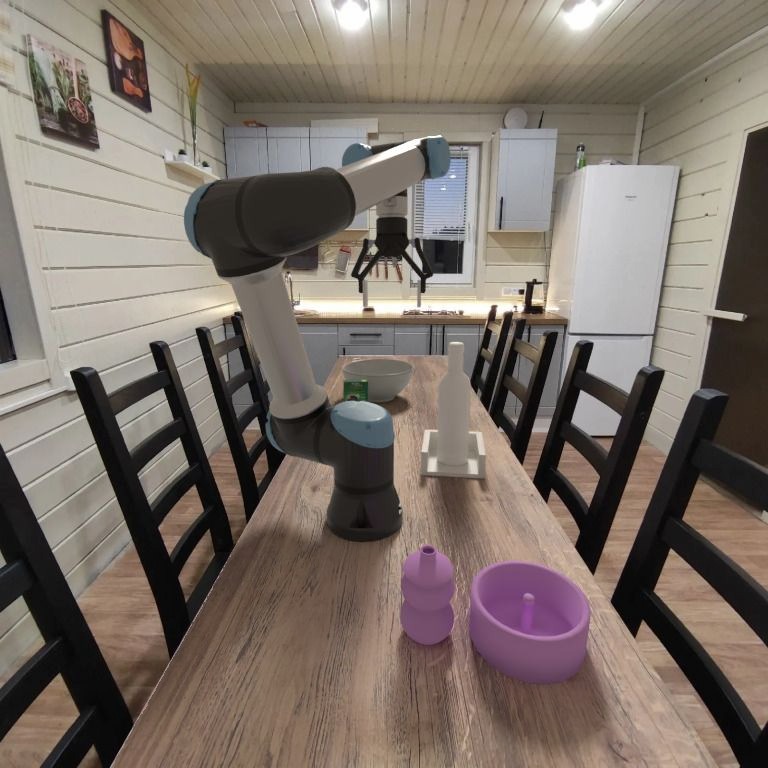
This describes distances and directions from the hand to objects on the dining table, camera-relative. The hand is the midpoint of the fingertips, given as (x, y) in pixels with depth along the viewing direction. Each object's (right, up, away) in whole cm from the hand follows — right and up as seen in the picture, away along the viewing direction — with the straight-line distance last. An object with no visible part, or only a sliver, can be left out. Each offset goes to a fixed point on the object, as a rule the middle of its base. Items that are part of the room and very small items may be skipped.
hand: (392, 306), depth 115 cm
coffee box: (-11, -31, +34) cm, 47 cm away
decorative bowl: (-4, -25, +57) cm, 62 cm away
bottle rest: (+15, -40, +1) cm, 43 cm away
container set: (+13, -55, -51) cm, 76 cm away
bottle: (+15, -39, +1) cm, 42 cm away
